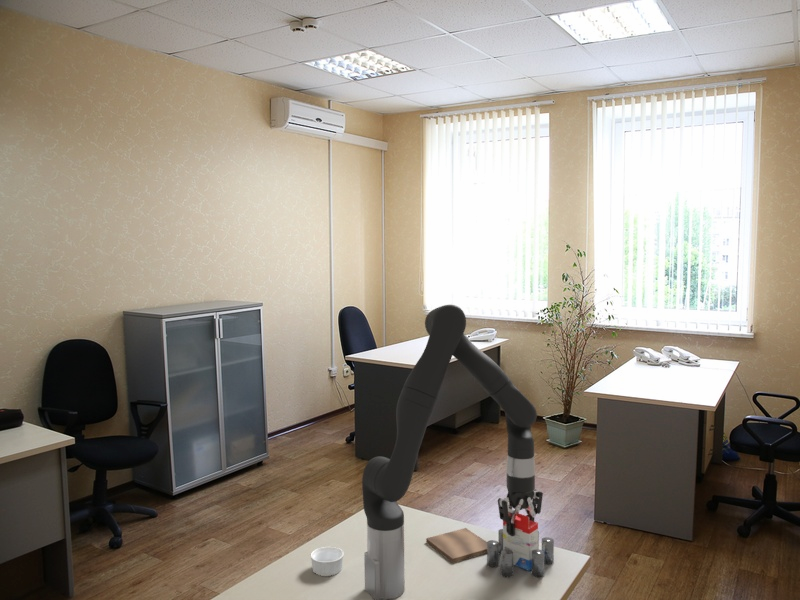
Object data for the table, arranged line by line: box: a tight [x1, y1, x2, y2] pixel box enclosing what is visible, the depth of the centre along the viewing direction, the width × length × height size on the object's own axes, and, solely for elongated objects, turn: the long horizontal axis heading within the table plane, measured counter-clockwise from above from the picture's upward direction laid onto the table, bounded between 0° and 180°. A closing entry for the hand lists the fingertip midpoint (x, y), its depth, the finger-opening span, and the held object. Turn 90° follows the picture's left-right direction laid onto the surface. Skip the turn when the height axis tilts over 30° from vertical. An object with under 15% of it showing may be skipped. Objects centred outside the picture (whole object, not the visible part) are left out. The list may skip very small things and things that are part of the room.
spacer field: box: [486, 528, 555, 579], centre depth 164 cm, size 17×17×6 cm
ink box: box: [502, 512, 539, 571], centre depth 164 cm, size 8×5×15 cm, turn 47°
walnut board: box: [425, 527, 488, 564], centre depth 174 cm, size 14×14×1 cm
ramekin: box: [310, 546, 345, 577], centre depth 162 cm, size 9×9×4 cm
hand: (520, 532), depth 164 cm, fingers closed on ink box, 6 cm apart
